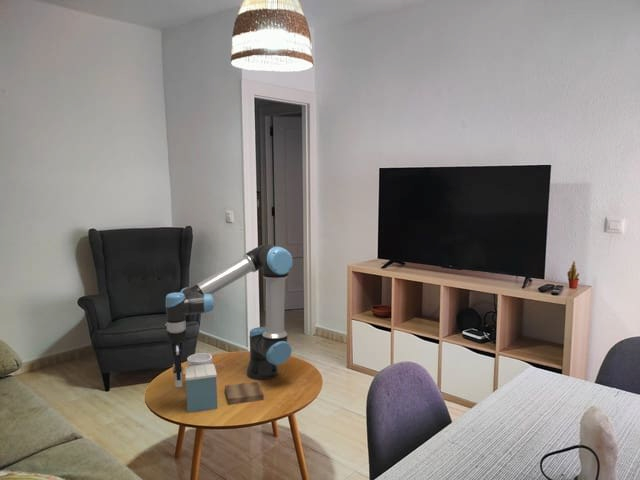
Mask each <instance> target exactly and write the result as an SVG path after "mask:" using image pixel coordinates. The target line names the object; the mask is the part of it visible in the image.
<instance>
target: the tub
mask: <svg viewBox="0 0 640 480" xmlns="http://www.w3.org/2000/svg"><path fill="white" fill-rule="evenodd" d="M184 377H185V376H184ZM184 379H186V377H185V378H184ZM217 383H218V381H217V377H211V378H203V379H195V380H187V381H186V380H185V397H186V398H185V399H186V400H185V401H186V407H187V413H189V414H190V413H194V412H195V413H196V412H202V411H210V410H216V409H218V391H217V389H218V388H217V387H218V385H217Z"/></svg>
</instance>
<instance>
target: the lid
mask: <svg viewBox="0 0 640 480" xmlns="http://www.w3.org/2000/svg"><path fill="white" fill-rule="evenodd" d="M181 370H182V381H184V380H185V382H186V381H187V380H195V379H203V378H211V377H216V378H217V377H218V376H217V375H218V374H217V370H216V366H215V364H214V363H211V364H206V365H205V364H204V365H197V366H195V365H194V366H189V365H188V366H184V363H183V362H181ZM173 371H175V364H174V363H173V364H172V375H173V376H172V377H173V380H172V381H173V382H175V373H173ZM184 377H186V378H184Z"/></svg>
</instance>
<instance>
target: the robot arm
mask: <svg viewBox="0 0 640 480" xmlns="http://www.w3.org/2000/svg"><path fill="white" fill-rule="evenodd" d="M293 262H294V260H293V256H292V254H291V253H290V251H288V250H287V249H285V248H284V247H282V246H277V245H274V244H269V243H268V244H261V245H259V246H257V247H255V248H252V249H251V250H250V251H247V253H244V254H243V255H242V258H240V259H238V260H237V261H235V262H233V263H231V264H230V265H228V266H226V267H224V268H223V269H221V270H219V271H217V272H216V273H214V274H212V275H210V276H209V277H207V278H205V279H203V280H201V281H200V282H198V283H196V284H194V285H193V286H191V287H183V288H182V289H181V290H180V292H179V291H177V292H175V291H174V292H171V293H167V294H166V296H165V316H166V323H165V324H164V326H166V331H167V332H166V340H167V341H168V342H170V343H171V349H172V355H173V356H172V357H174V362H173V364H175V371H173V370H172V374H173V373H175V381H174V383H175V385H174V387H175V388H182V387H183V380H182V370H181V363H182V355H183V352H182V349H183V341H185V340H186V339H187V331H186V329H187V324H186V322H187V321H186V316H188V315H189V316H190V315H196V314H197V315H198V314H203V313H204V314H206V313H208V312H212V311H213V310H214V307H215V301H214V297H213V294H215V293H217V292H219V291H220V290H222V289H224V288H225V287H228V286H229V285H231V284H233V283H234V282H235V281H238V280H239V279H240V278H242V277H245V276H246V275H248V274H250V273H255V272H257V271H259V270H262V277H263V278H264V279H265V326H260V327H254V328H252V329H251V330H250V331H249V336H248V337H249V362H248V365H247V367H246V368H247V369H246V375H247V377H248V378H250V379H252V380H260V381H261V380H262V381H263V380H270V379H273V378H275V377H276V376H277V375H279V369H278V368H279V367H278V366H280V365H284V363H286V362H287V361H288V360H289V359H290V357H291V355H292V346H291V344H290V343H289V342H288V332H287V331H286V330H285V303H286V302H285V297H286V296H285V295H286V293H285V292H286V291H285V290H286V289H285V288H286V284H285V283H286V282H285V281H286V279H287V278H288V277H289V272H290V271H291V269H292V268H293V264H294V263H293Z"/></svg>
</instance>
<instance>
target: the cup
mask: <svg viewBox="0 0 640 480" xmlns="http://www.w3.org/2000/svg"><path fill="white" fill-rule="evenodd" d="M186 359H187V365H188V367H189V366H194V365H195V366H197V365H204V364H205V365H206V364H213V356H212V354H210V353H207V352H199V353H194V354H193V353H192V354H191V355H188V357H187V358H186Z"/></svg>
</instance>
